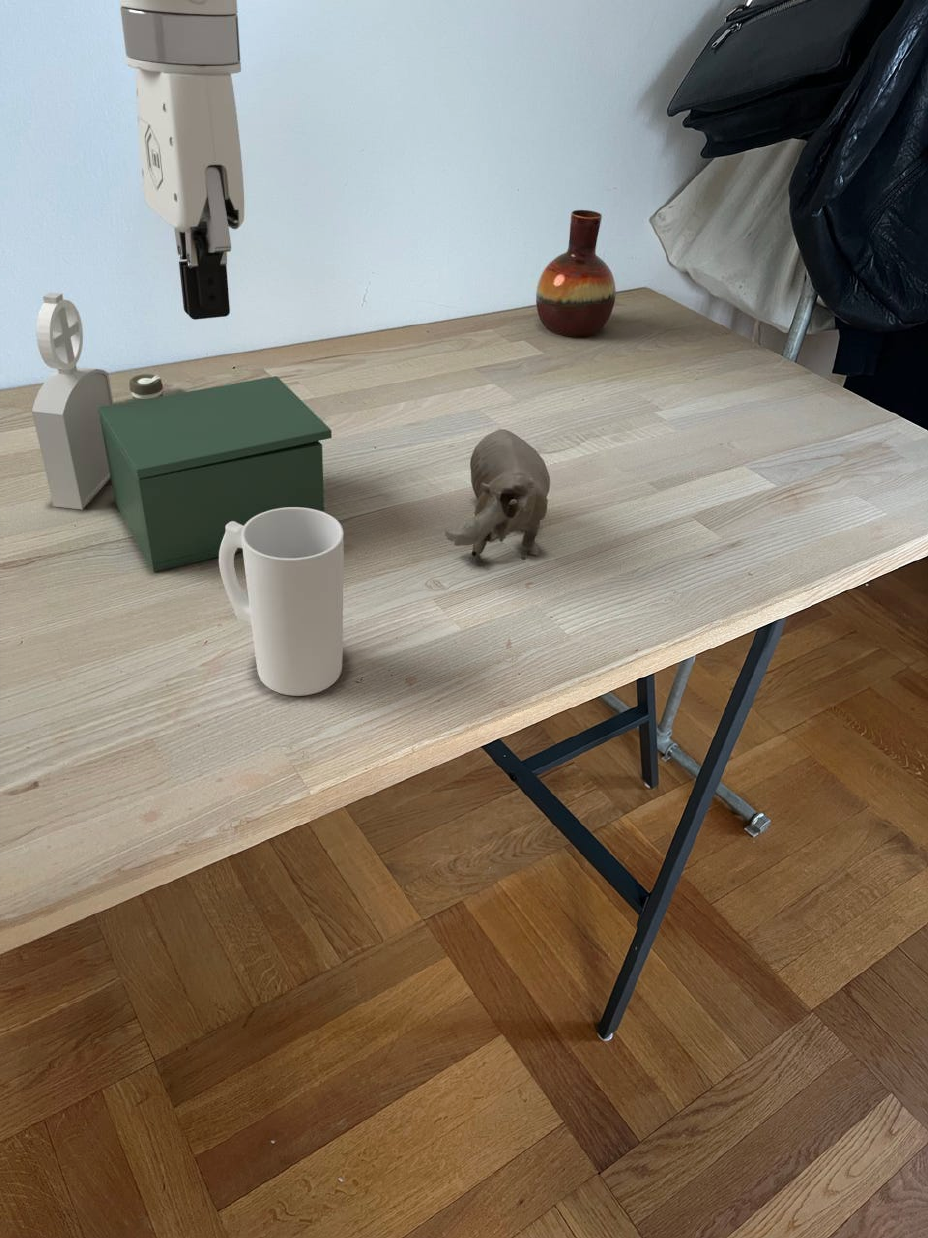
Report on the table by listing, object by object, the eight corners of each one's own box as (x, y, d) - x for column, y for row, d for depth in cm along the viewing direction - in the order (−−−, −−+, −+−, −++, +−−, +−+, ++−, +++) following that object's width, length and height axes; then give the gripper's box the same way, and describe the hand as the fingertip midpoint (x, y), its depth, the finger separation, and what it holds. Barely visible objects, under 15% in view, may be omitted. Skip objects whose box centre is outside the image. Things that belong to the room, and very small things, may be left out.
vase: (560, 345, 127) (575, 227, 118) (518, 318, 134) (529, 205, 125) (625, 336, 131) (644, 221, 122) (580, 311, 139) (596, 201, 130)
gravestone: (123, 462, 93) (92, 279, 82) (82, 509, 85) (41, 315, 74) (97, 459, 93) (62, 276, 82) (53, 506, 85) (8, 311, 74)
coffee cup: (74, 414, 100) (65, 371, 97) (177, 390, 107) (171, 349, 104) (123, 457, 93) (115, 412, 91) (229, 429, 100) (225, 385, 97)
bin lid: (277, 383, 88) (276, 375, 88) (332, 438, 80) (331, 429, 79) (99, 415, 81) (97, 407, 81) (138, 479, 73) (136, 470, 72)
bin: (274, 471, 93) (268, 389, 88) (325, 532, 85) (322, 444, 80) (115, 503, 86) (99, 416, 81) (153, 572, 78) (138, 479, 73)
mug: (363, 660, 70) (363, 525, 63) (311, 711, 66) (304, 571, 58) (257, 617, 74) (246, 484, 67) (200, 662, 69) (181, 524, 62)
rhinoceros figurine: (560, 472, 92) (555, 389, 77) (546, 603, 87) (538, 540, 73) (482, 468, 93) (464, 385, 79) (465, 596, 89) (442, 533, 75)
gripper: (98, 29, 66) (133, 291, 77) (158, 55, 56) (189, 352, 67) (202, 33, 69) (222, 283, 80) (276, 58, 59) (287, 340, 70)
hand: (207, 314), depth 73 cm, fingers closed
